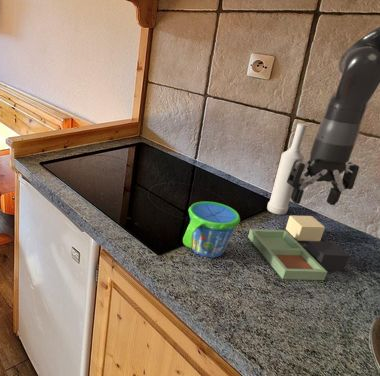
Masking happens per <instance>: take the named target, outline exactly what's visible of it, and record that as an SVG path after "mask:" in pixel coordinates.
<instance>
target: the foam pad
mask: <svg viewBox="0 0 380 376" xmlns="http://www.w3.org/2000/svg"><path fill="white" fill-rule="evenodd" d="M325 229H326V227H325V226H324V225H323V224H322V223H321V222H320V221H319V220H318V219H316V218H315V217H314V216H312V215H289V216H288V220H287V223H286V227H285V230H286V231H287V232H288V233H289V234H290V235H291V236H292V237H293V238H294V239H295V240H296V241H297V242H309V241H322V237H323V235H324V232H325Z"/></svg>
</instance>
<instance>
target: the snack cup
mask: <svg viewBox="0 0 380 376" xmlns="http://www.w3.org/2000/svg"><path fill="white" fill-rule="evenodd" d="M188 216H189V219H190V220H189V224H188V226H187V228H186V230H185V233H184V235H183V237H182V243H183V245H184V246H185V247H188V248H190V249H191V250H192V251H193V252H194V253H195V254H196V255H200V256H202V257H206V258H212V259H215V258H217V257H220V256H222V255H223V254H224V252H225V251H226V248H227V246H228V244H229V242H230V239H231V237H232V236H233V233H234V231H235V228H236V227H237V226H238V225H239V224H240V221H241V218H240V214H239V212H237V210H236V209H234V208H232V207H230V206H229V205H226V204H223V203H220V202H215V201H198V202H194V203H192V204H191V206H189V208H188Z"/></svg>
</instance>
